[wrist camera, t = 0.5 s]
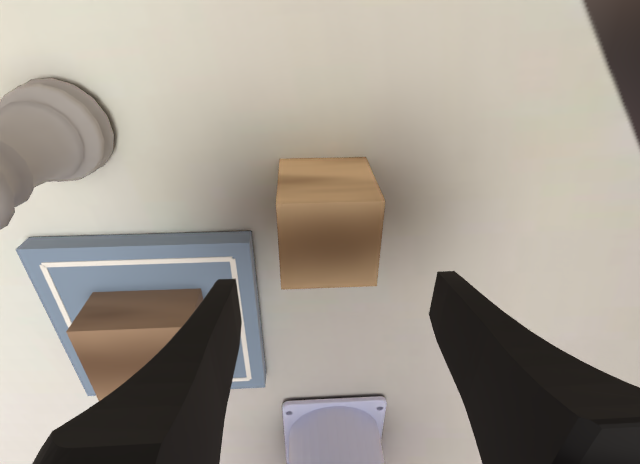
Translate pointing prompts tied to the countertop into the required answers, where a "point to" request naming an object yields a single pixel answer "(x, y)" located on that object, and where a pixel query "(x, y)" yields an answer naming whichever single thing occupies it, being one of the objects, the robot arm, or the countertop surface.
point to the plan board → (145, 278)
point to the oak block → (328, 223)
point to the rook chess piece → (48, 139)
